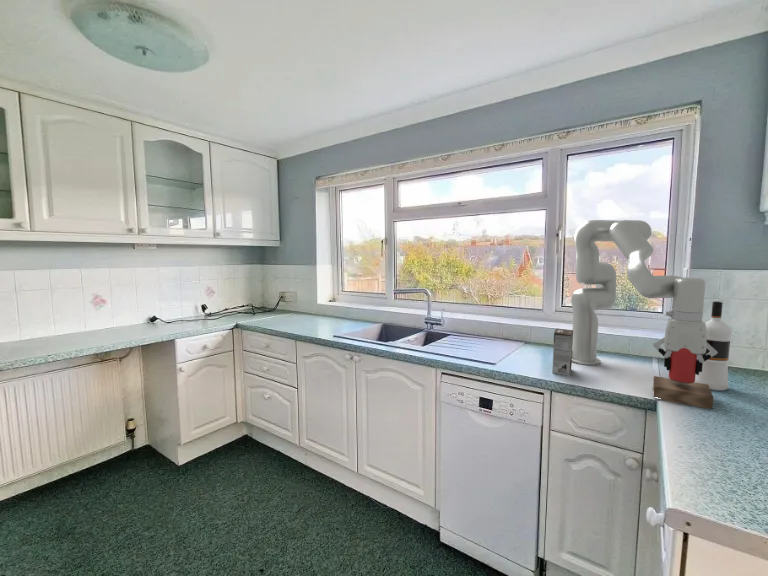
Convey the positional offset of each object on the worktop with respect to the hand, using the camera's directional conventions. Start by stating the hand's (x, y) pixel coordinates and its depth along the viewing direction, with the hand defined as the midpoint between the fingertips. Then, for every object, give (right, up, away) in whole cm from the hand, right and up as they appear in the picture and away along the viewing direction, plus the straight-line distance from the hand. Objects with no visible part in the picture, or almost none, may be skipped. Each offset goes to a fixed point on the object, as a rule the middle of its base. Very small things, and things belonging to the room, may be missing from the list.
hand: (682, 371), depth 115 cm
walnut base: (0, -9, +1) cm, 9 cm away
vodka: (+18, -8, +10) cm, 22 cm away
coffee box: (-25, -6, +27) cm, 37 cm away
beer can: (0, -3, 0) cm, 3 cm away
